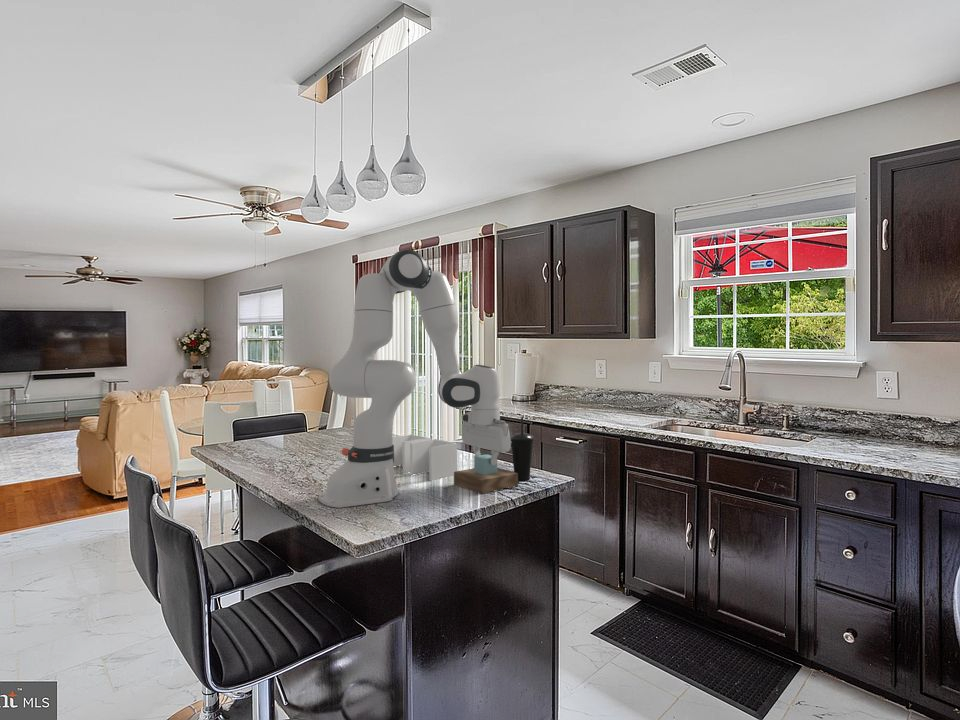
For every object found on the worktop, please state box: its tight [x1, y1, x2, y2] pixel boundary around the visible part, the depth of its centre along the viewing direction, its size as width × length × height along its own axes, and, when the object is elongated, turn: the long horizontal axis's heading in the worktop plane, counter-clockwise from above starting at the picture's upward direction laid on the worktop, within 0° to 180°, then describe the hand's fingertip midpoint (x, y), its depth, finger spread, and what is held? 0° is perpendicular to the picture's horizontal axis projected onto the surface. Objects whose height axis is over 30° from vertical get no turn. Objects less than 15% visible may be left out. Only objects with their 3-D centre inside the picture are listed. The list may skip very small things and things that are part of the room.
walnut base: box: [453, 467, 519, 494], centre depth 171 cm, size 14×14×4 cm
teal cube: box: [473, 454, 498, 475], centre depth 171 cm, size 5×5×5 cm
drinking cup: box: [510, 416, 535, 482], centre depth 179 cm, size 8×8×20 cm
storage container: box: [392, 434, 458, 482], centre depth 189 cm, size 25×11×11 cm, turn 45°
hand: (485, 462), depth 171 cm, fingers open, 5 cm apart
